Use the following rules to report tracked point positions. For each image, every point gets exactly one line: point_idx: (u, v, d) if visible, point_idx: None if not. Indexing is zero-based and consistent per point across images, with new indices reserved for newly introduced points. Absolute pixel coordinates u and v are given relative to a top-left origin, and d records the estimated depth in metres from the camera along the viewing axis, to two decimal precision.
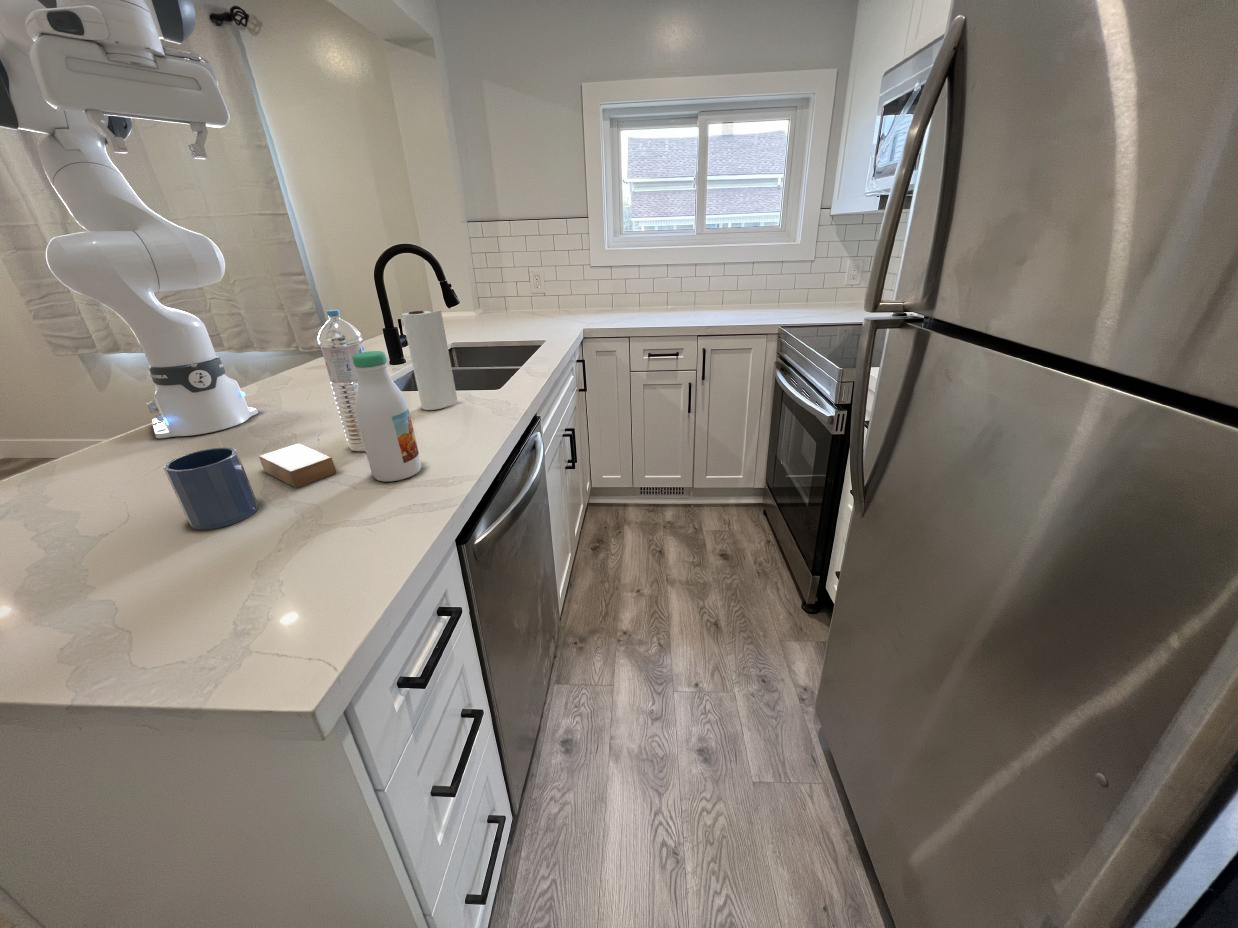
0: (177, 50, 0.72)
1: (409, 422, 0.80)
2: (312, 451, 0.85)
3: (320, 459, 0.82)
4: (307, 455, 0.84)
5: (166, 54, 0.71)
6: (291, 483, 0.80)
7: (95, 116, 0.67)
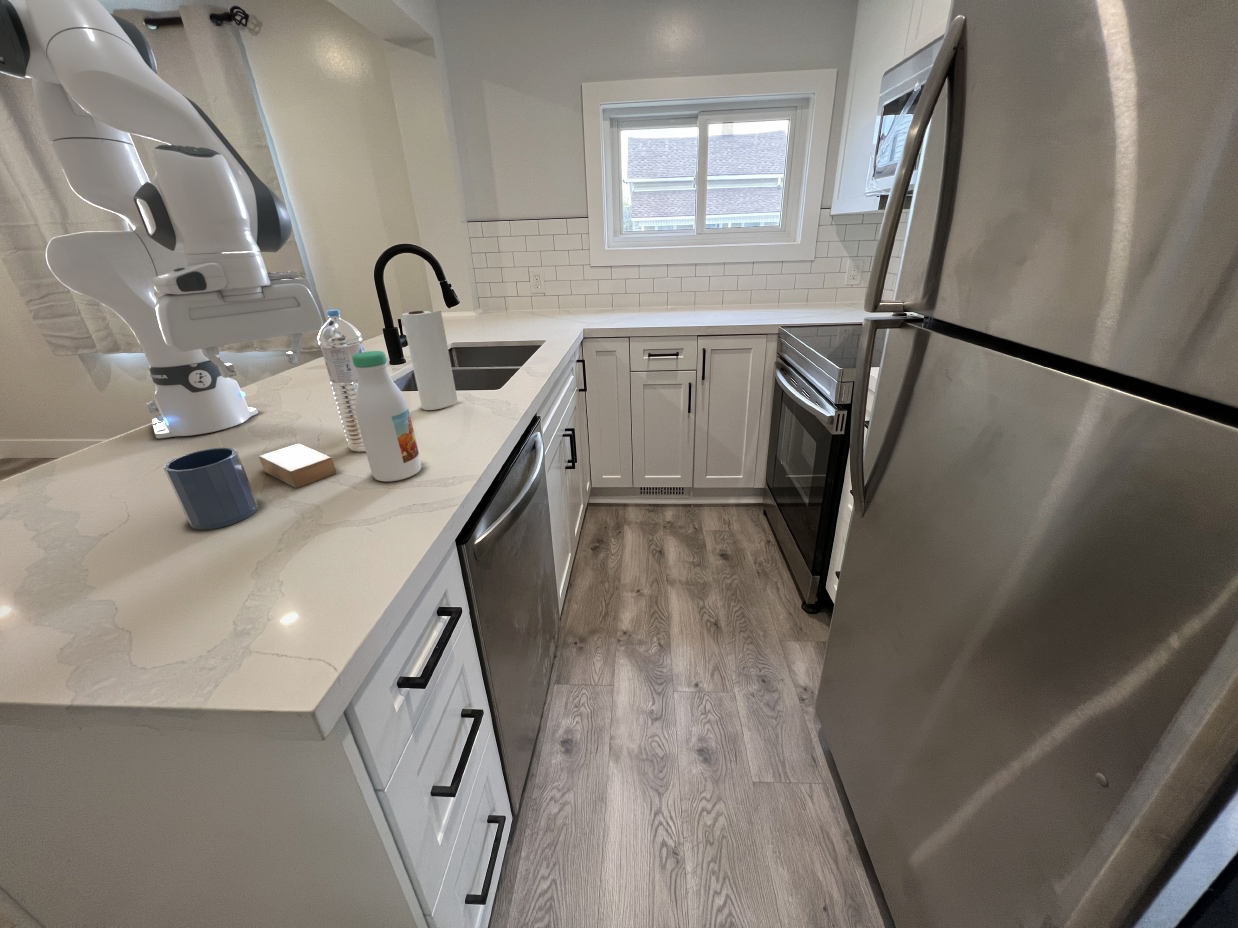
0: (279, 274, 0.76)
1: (409, 422, 0.80)
2: (312, 451, 0.85)
3: (320, 459, 0.82)
4: (307, 455, 0.84)
5: (270, 280, 0.76)
6: (291, 483, 0.80)
7: (210, 351, 0.71)
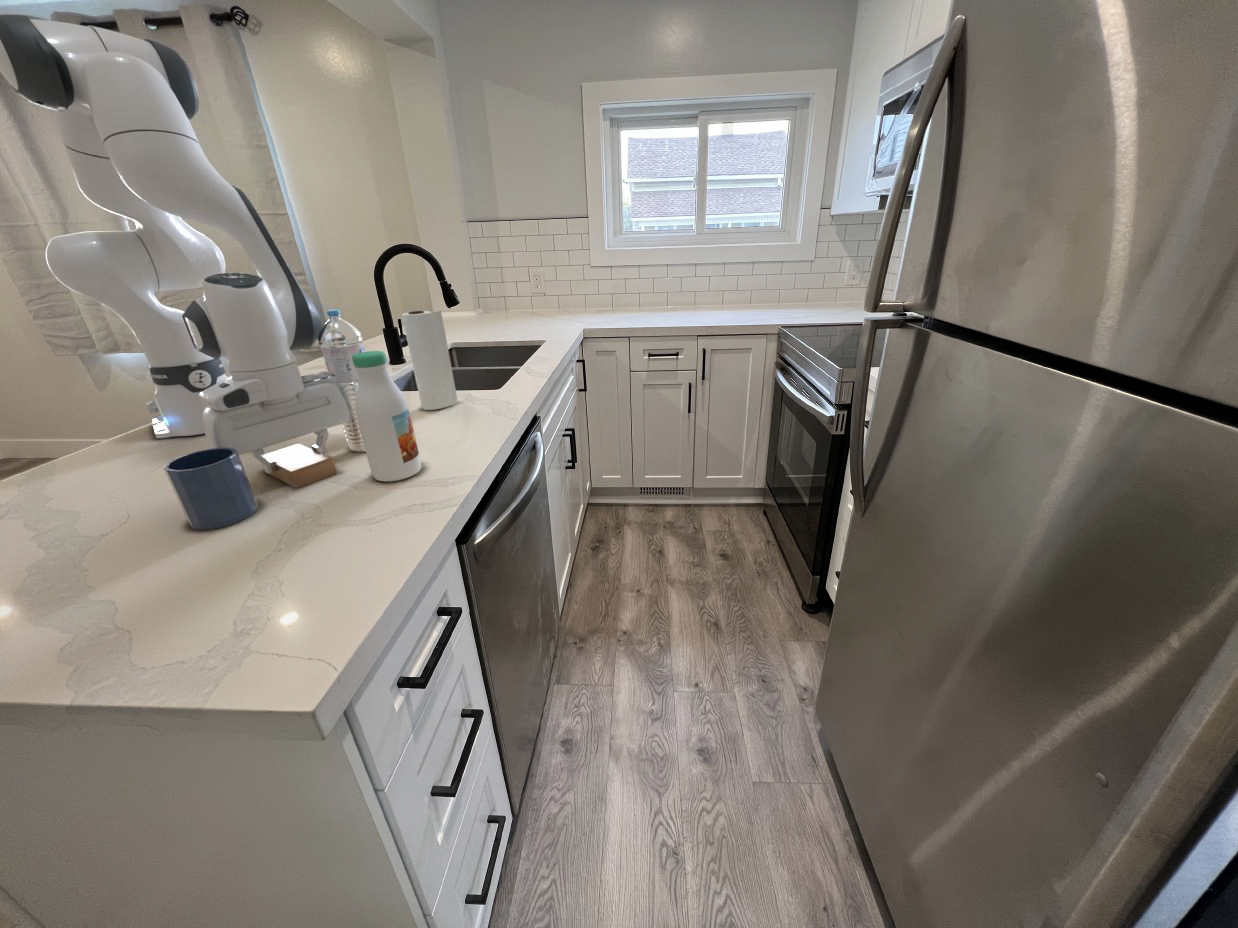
0: (312, 376, 0.83)
1: (409, 422, 0.80)
2: (312, 451, 0.85)
3: (320, 459, 0.82)
4: (308, 455, 0.84)
5: (304, 382, 0.82)
6: (291, 483, 0.80)
7: (257, 453, 0.78)
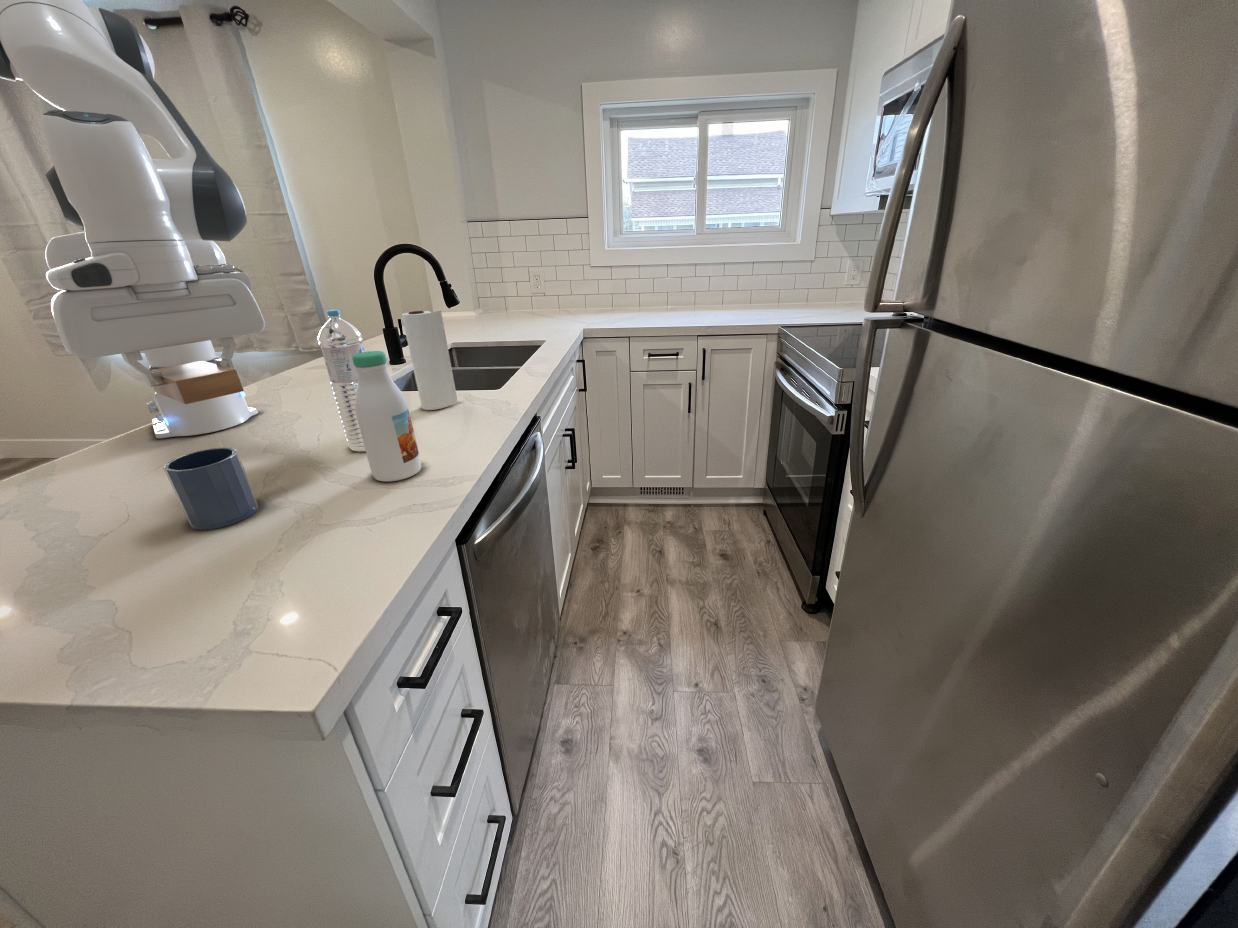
0: (210, 267, 0.65)
1: (409, 422, 0.80)
2: (215, 365, 0.68)
3: (220, 371, 0.65)
4: (207, 368, 0.66)
5: (198, 274, 0.65)
6: (179, 398, 0.62)
7: (131, 357, 0.61)
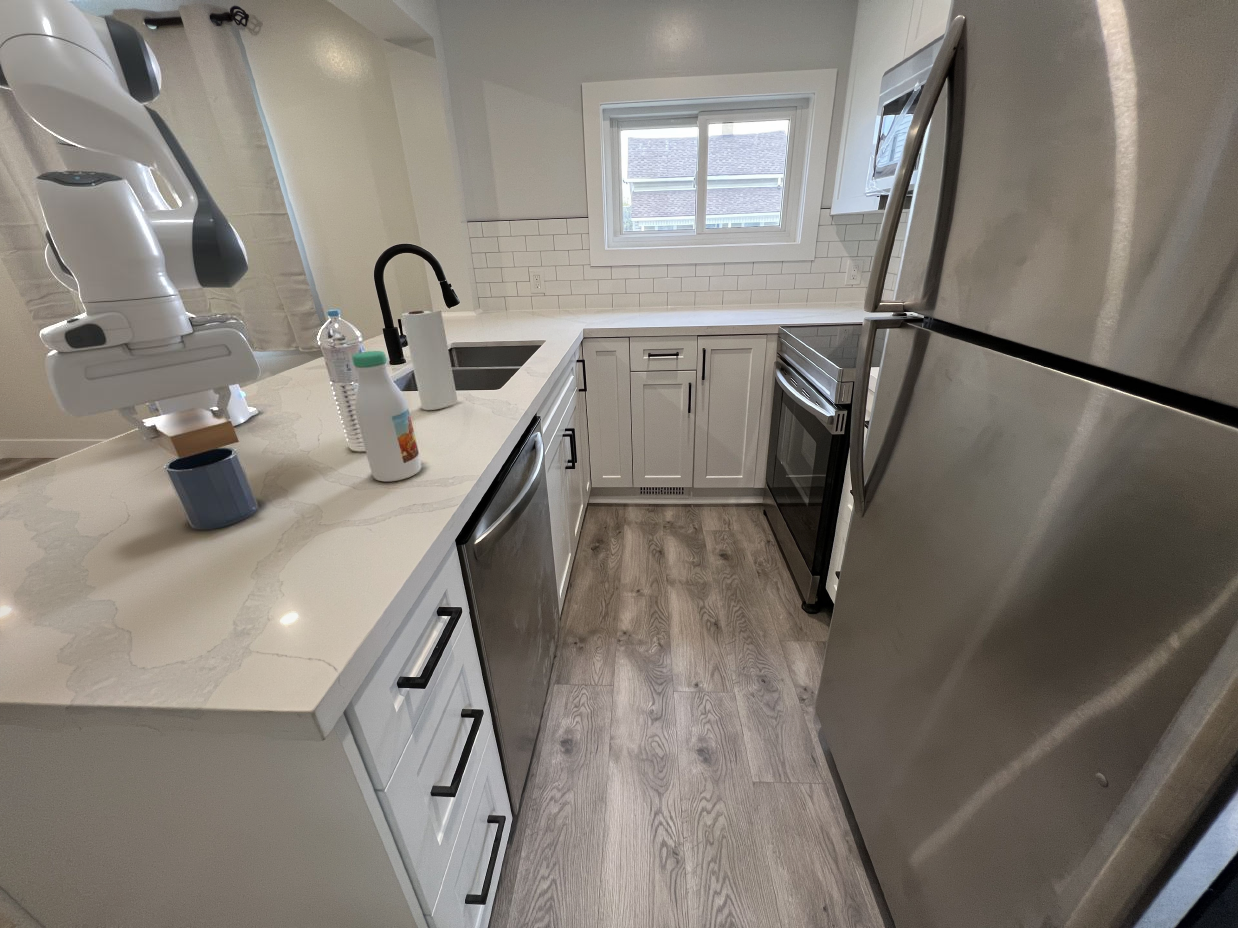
0: (205, 318, 0.65)
1: (409, 422, 0.80)
2: (210, 415, 0.68)
3: (215, 423, 0.64)
4: (202, 419, 0.66)
5: (194, 325, 0.64)
6: (174, 452, 0.62)
7: (126, 412, 0.61)
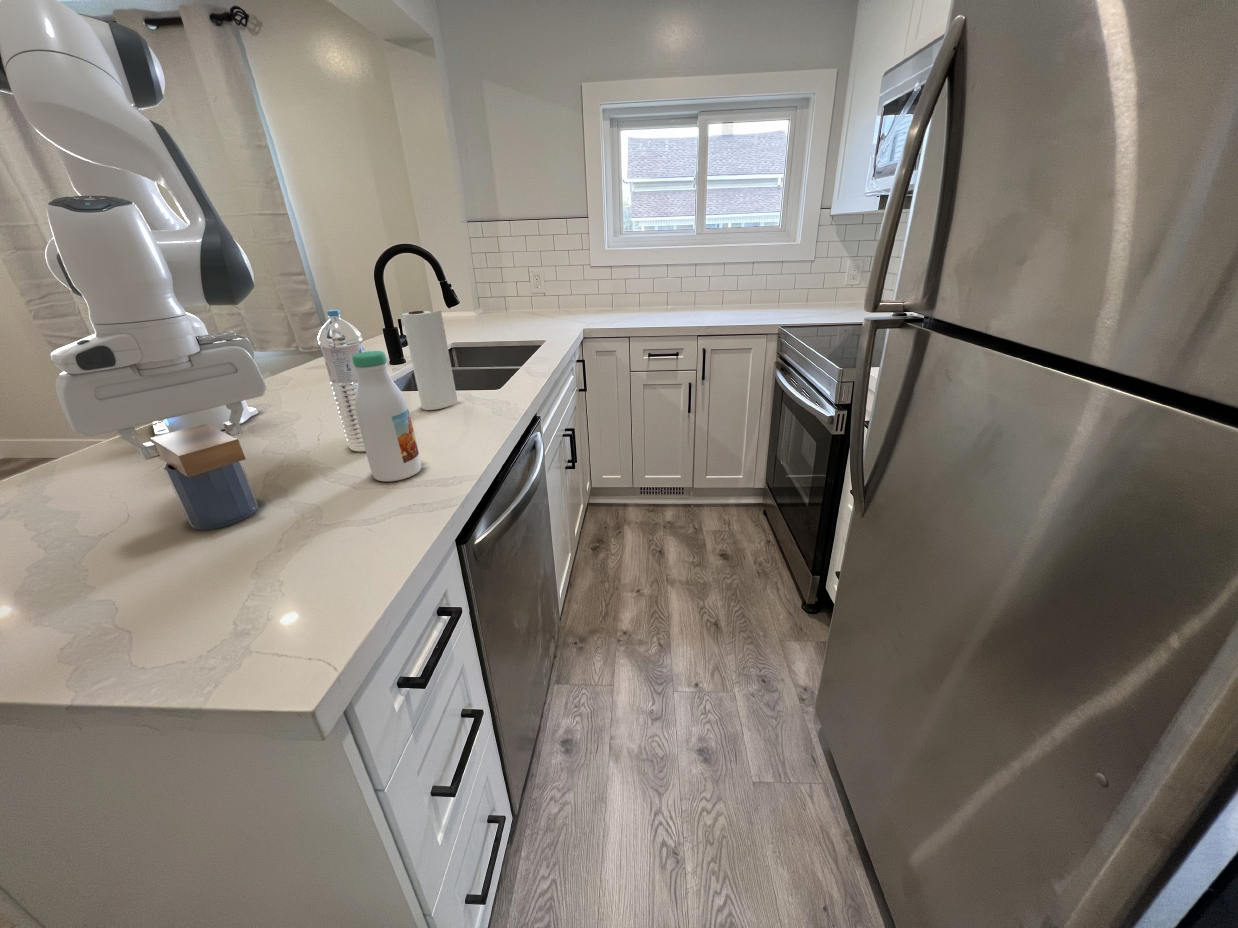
0: (212, 336, 0.66)
1: (409, 422, 0.80)
2: (217, 432, 0.69)
3: (222, 442, 0.65)
4: (209, 437, 0.67)
5: (201, 344, 0.65)
6: (182, 471, 0.63)
7: (126, 433, 0.61)
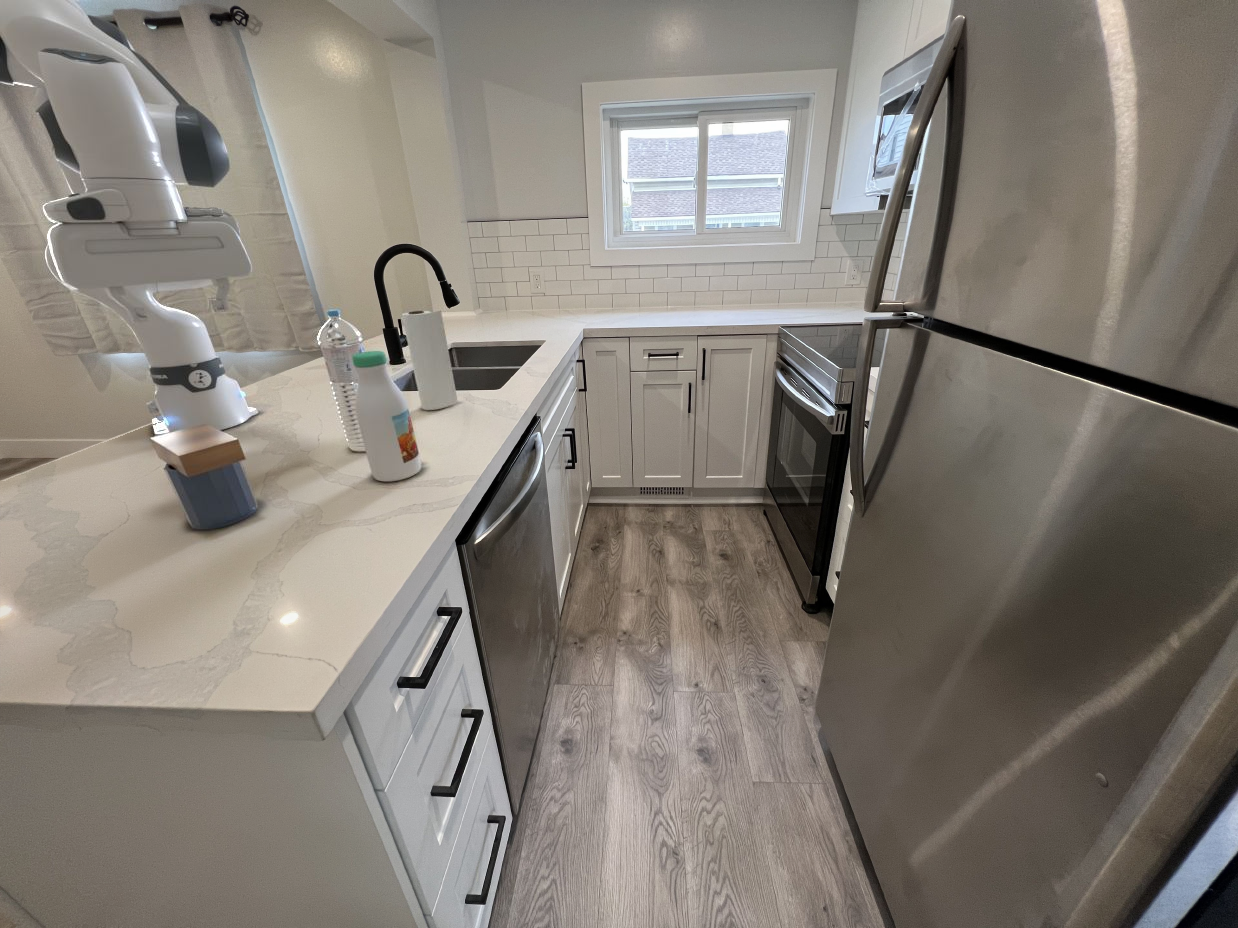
0: (199, 209, 0.69)
1: (409, 422, 0.80)
2: (217, 432, 0.69)
3: (222, 442, 0.65)
4: (209, 437, 0.67)
5: (188, 215, 0.68)
6: (182, 471, 0.63)
7: (115, 292, 0.64)
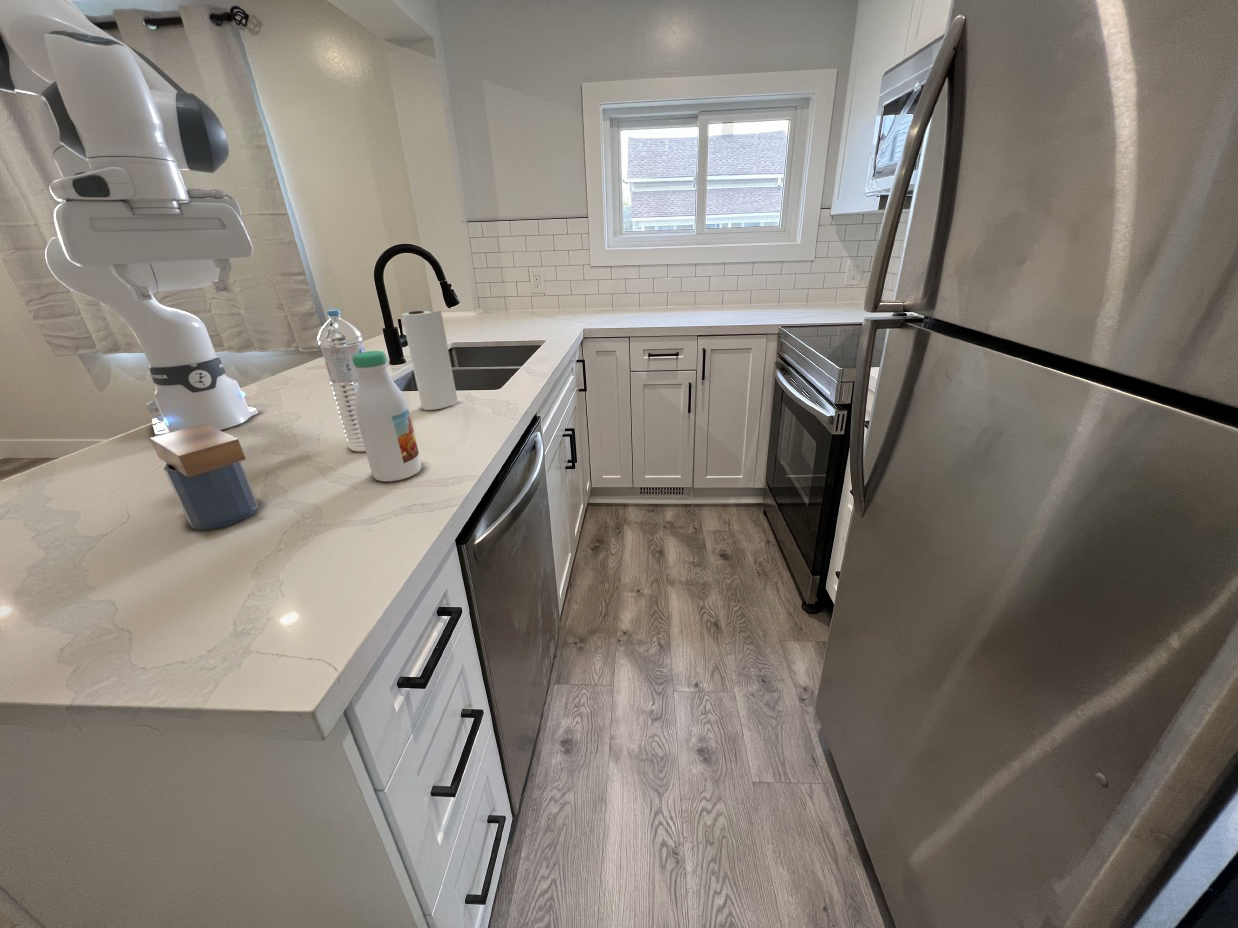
0: (201, 191, 0.70)
1: (409, 422, 0.80)
2: (217, 432, 0.69)
3: (222, 442, 0.65)
4: (209, 437, 0.67)
5: (190, 197, 0.70)
6: (182, 471, 0.63)
7: (119, 270, 0.65)
